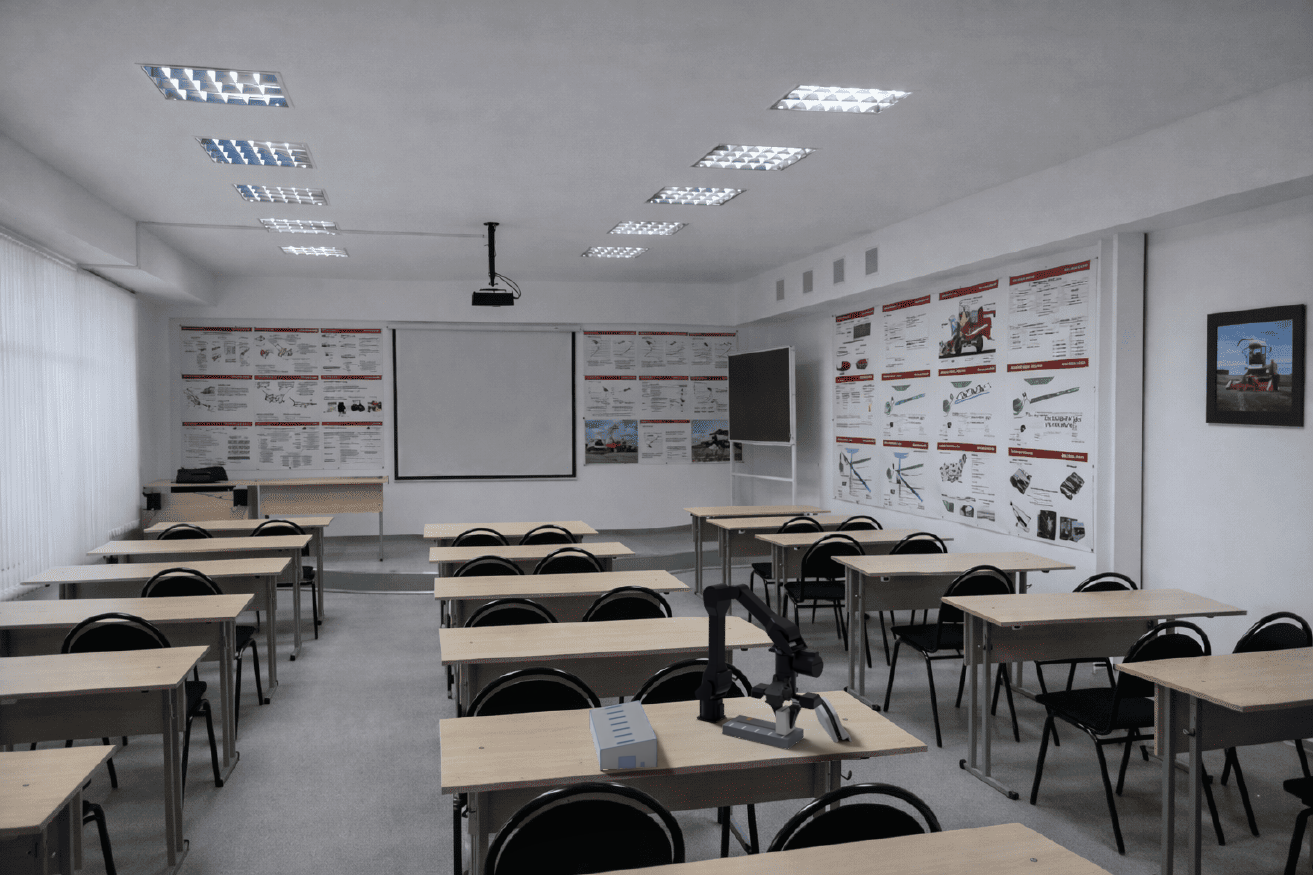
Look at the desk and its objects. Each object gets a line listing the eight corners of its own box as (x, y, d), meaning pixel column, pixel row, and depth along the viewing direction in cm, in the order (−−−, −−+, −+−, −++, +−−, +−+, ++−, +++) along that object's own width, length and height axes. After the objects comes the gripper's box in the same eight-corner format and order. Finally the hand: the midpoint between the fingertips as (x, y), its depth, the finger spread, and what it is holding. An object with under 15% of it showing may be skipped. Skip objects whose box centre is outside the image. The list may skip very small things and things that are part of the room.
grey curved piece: (852, 741, 227) (840, 707, 226) (836, 748, 226) (824, 714, 226) (835, 720, 243) (823, 688, 243) (820, 726, 243) (808, 694, 243)
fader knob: (775, 733, 226) (775, 710, 226) (785, 726, 231) (785, 704, 231) (785, 735, 224) (785, 712, 224) (795, 728, 229) (795, 706, 229)
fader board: (722, 733, 233) (722, 724, 233) (739, 723, 241) (739, 714, 241) (787, 749, 222) (787, 739, 222) (803, 737, 230) (803, 728, 230)
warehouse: (589, 729, 238) (589, 703, 237) (639, 726, 240) (639, 700, 240) (600, 772, 208) (600, 741, 208) (657, 768, 210) (656, 738, 210)
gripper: (741, 671, 226) (741, 728, 226) (804, 683, 215) (804, 743, 215) (760, 662, 235) (760, 717, 235) (822, 673, 224) (822, 730, 225)
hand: (785, 727), depth 227 cm, fingers closed on fader knob, 3 cm apart
